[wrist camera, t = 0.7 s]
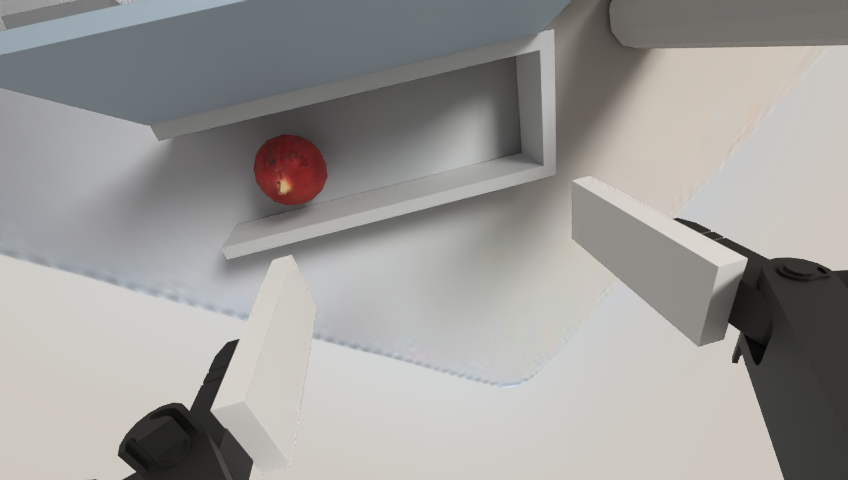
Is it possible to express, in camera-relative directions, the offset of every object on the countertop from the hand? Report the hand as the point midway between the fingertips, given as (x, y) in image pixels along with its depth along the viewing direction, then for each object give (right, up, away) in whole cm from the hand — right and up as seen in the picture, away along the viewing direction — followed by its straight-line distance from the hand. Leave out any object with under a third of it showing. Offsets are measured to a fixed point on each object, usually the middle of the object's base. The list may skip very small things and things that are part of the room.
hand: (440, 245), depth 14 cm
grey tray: (-6, +10, +19) cm, 22 cm away
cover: (-6, +12, +12) cm, 18 cm away
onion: (-13, +8, +19) cm, 24 cm away
